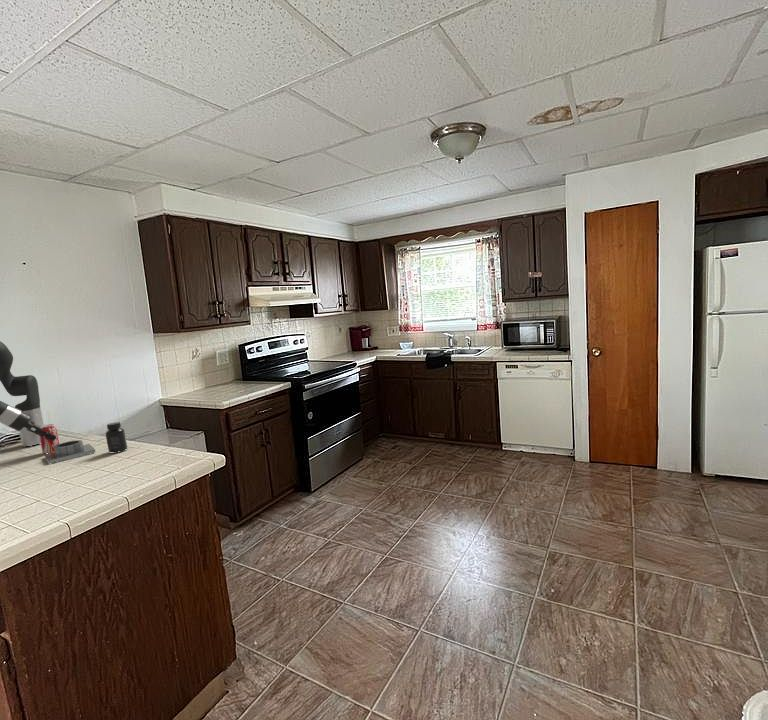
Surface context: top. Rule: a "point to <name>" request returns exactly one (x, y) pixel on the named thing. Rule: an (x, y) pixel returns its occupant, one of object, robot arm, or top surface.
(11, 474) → the top surface
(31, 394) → the robot arm
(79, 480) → the top surface
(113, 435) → the supplement bottle
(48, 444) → the beverage can
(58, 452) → the duct collar
